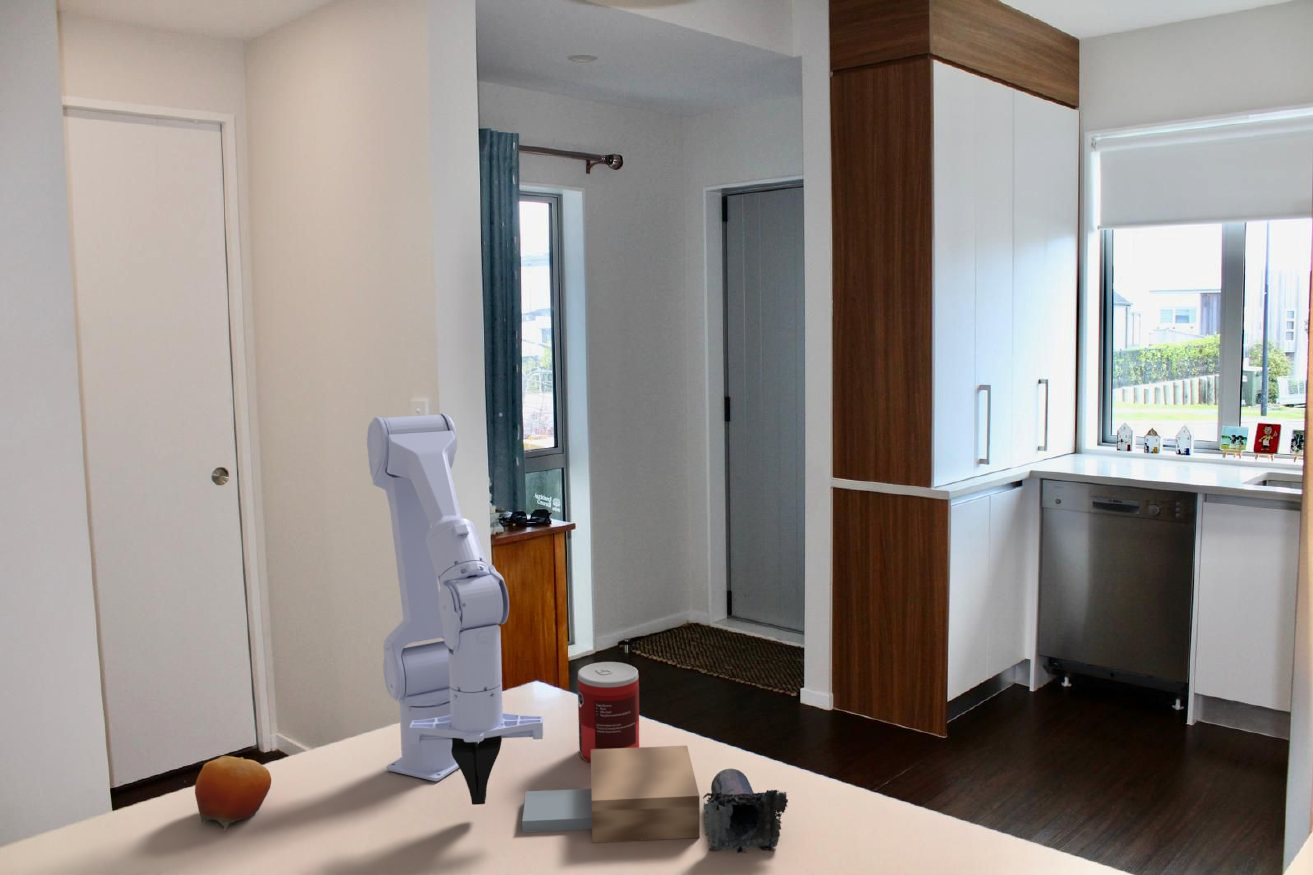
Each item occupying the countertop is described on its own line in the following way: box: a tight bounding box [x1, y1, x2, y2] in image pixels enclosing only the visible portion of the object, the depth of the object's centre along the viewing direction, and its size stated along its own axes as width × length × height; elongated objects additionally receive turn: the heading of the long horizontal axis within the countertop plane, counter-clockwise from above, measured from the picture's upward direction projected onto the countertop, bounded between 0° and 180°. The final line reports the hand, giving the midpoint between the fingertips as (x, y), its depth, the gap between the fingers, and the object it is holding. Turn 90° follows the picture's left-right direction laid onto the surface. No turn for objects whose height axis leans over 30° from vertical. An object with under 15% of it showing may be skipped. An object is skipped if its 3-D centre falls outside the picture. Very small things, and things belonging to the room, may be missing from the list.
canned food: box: [577, 661, 640, 764], centre depth 129 cm, size 8×8×11 cm
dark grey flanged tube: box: [702, 768, 789, 854], centre depth 110 cm, size 9×8×12 cm
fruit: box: [194, 755, 272, 833], centre depth 114 cm, size 8×8×8 cm
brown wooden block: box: [590, 745, 701, 844], centre depth 114 cm, size 12×13×5 cm
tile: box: [521, 788, 592, 833], centre depth 114 cm, size 13×7×2 cm, turn 94°
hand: (479, 800), depth 113 cm, fingers closed
